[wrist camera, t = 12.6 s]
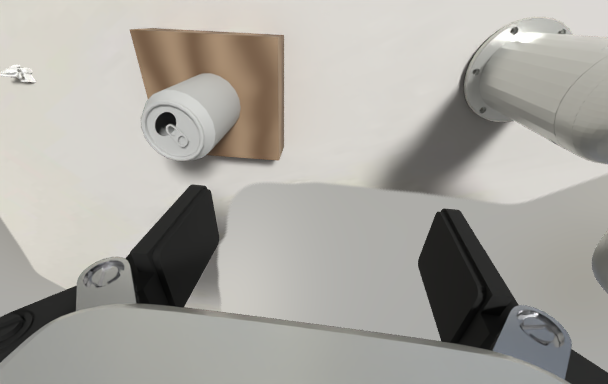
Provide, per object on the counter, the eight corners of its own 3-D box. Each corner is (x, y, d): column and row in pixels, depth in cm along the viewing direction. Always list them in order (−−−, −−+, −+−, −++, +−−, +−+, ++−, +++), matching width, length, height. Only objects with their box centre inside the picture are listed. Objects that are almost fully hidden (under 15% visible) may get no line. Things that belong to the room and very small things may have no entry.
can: (206, 58, 34) (153, 75, 24) (253, 101, 36) (223, 133, 26) (177, 102, 37) (120, 133, 27) (222, 139, 39) (185, 180, 29)
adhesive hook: (32, 64, 41) (11, 67, 39) (40, 82, 43) (21, 86, 40) (13, 63, 41) (-8, 66, 39) (22, 81, 43) (2, 85, 40)
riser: (283, 35, 36) (277, 37, 32) (283, 147, 45) (278, 160, 40) (152, 28, 37) (129, 29, 33) (177, 139, 46) (161, 151, 41)
